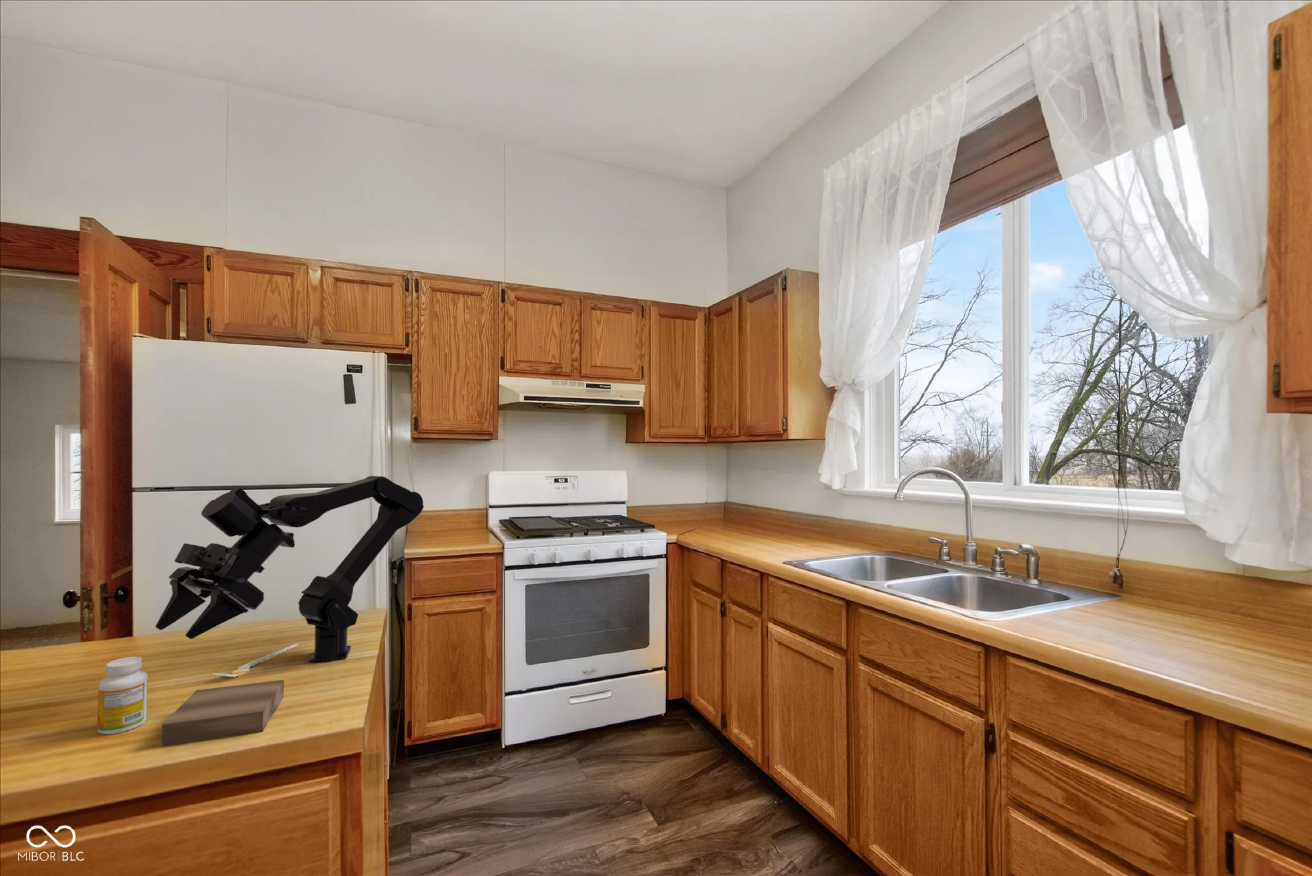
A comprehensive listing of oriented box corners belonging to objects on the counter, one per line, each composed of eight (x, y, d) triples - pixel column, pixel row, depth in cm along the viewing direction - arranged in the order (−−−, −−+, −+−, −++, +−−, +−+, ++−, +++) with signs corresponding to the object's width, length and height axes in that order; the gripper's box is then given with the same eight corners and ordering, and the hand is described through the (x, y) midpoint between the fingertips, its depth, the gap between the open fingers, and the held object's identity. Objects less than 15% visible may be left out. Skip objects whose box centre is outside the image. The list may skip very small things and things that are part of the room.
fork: (304, 647, 120) (305, 638, 120) (225, 684, 100) (226, 673, 100) (290, 647, 120) (290, 638, 121) (208, 683, 101) (209, 672, 101)
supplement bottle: (109, 720, 86) (111, 656, 86) (153, 715, 88) (155, 652, 88) (88, 737, 81) (90, 670, 81) (135, 731, 83) (137, 665, 83)
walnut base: (195, 708, 90) (196, 689, 90) (283, 697, 95) (283, 679, 95) (161, 746, 79) (162, 724, 79) (262, 731, 83) (263, 711, 83)
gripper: (184, 520, 99) (99, 597, 89) (246, 528, 91) (160, 614, 81) (232, 558, 106) (158, 633, 96) (294, 568, 98) (220, 652, 88)
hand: (172, 632), depth 90 cm, fingers open, 9 cm apart
